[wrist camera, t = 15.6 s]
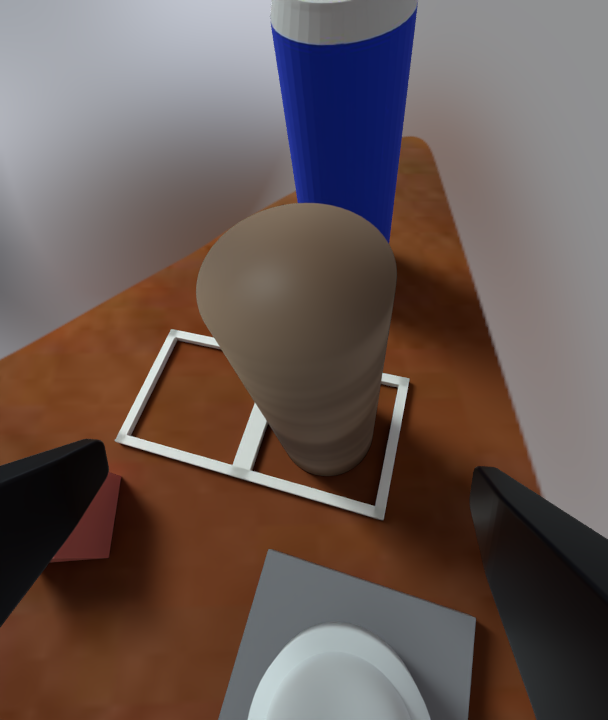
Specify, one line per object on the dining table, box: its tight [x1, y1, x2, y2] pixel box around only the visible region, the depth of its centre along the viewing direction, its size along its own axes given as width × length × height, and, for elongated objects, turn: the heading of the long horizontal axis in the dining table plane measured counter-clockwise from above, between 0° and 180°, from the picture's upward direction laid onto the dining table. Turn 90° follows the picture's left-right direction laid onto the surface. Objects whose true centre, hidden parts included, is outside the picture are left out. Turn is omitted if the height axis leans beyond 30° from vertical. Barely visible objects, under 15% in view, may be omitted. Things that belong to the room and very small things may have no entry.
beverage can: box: [270, 0, 418, 243], centre depth 19 cm, size 5×5×15 cm
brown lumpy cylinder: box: [196, 203, 397, 476], centre depth 15 cm, size 5×5×13 cm
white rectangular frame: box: [115, 329, 409, 521], centre depth 22 cm, size 8×15×1 cm, turn 74°
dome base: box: [218, 549, 476, 720], centre depth 15 cm, size 9×9×1 cm
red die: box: [50, 472, 121, 562], centre depth 18 cm, size 4×4×4 cm
